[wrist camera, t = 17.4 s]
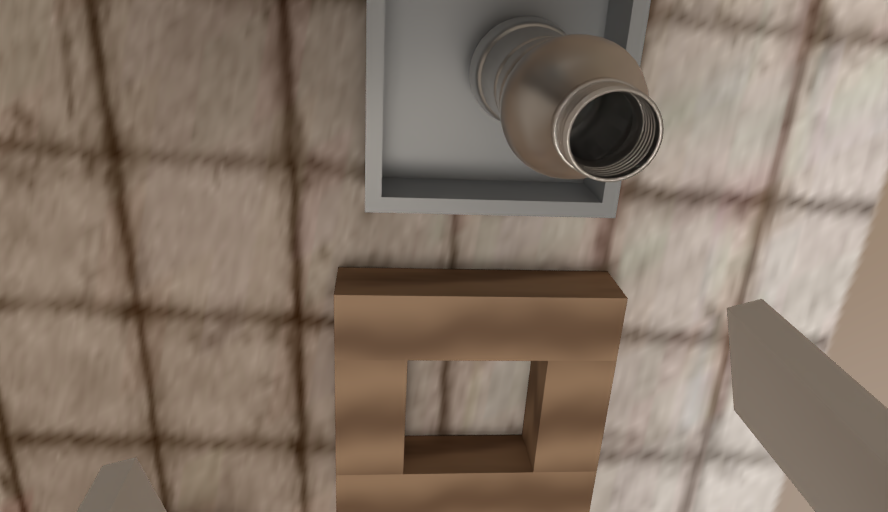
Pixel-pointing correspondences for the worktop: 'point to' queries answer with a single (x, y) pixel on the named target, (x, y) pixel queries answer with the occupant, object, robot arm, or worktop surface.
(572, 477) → the walnut frame
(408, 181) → the slate tray
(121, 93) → the worktop surface
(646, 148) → the plastic bottle
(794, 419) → the robot arm
